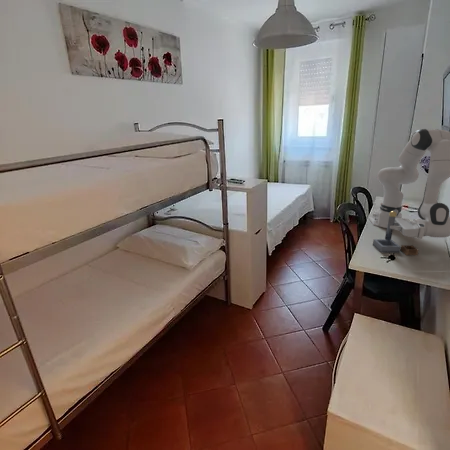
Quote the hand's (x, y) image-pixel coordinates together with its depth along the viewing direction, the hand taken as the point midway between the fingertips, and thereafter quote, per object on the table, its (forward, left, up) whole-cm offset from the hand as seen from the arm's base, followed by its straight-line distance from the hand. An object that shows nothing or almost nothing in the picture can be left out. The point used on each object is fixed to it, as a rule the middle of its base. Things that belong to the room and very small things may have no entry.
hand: (388, 225), depth 165 cm
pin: (0, +1, -8) cm, 8 cm away
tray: (0, +1, -14) cm, 14 cm away
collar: (+5, +11, -14) cm, 18 cm away
